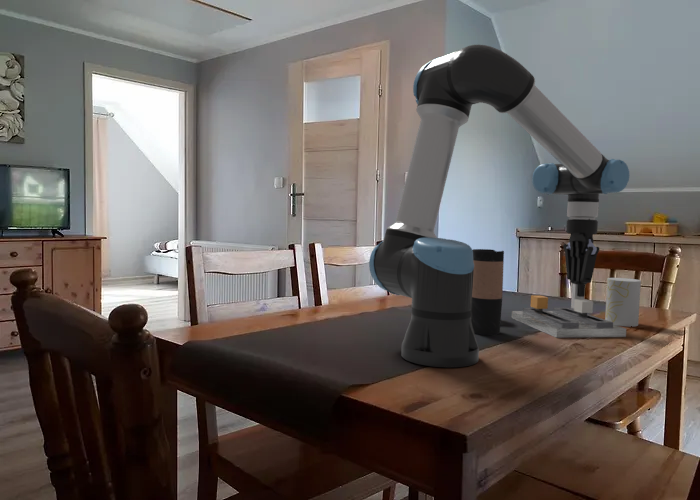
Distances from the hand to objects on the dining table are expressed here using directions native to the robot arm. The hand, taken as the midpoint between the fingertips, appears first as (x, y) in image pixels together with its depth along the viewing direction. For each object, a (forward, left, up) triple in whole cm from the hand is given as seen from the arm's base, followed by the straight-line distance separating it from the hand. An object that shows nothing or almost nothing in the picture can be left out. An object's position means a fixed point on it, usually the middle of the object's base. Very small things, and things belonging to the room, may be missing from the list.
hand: (577, 308), depth 148 cm
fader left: (-9, +4, -2) cm, 10 cm away
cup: (+15, +2, -5) cm, 16 cm away
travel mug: (-28, -7, -5) cm, 30 cm away
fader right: (0, -3, -2) cm, 3 cm away
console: (-4, -2, -5) cm, 7 cm away
